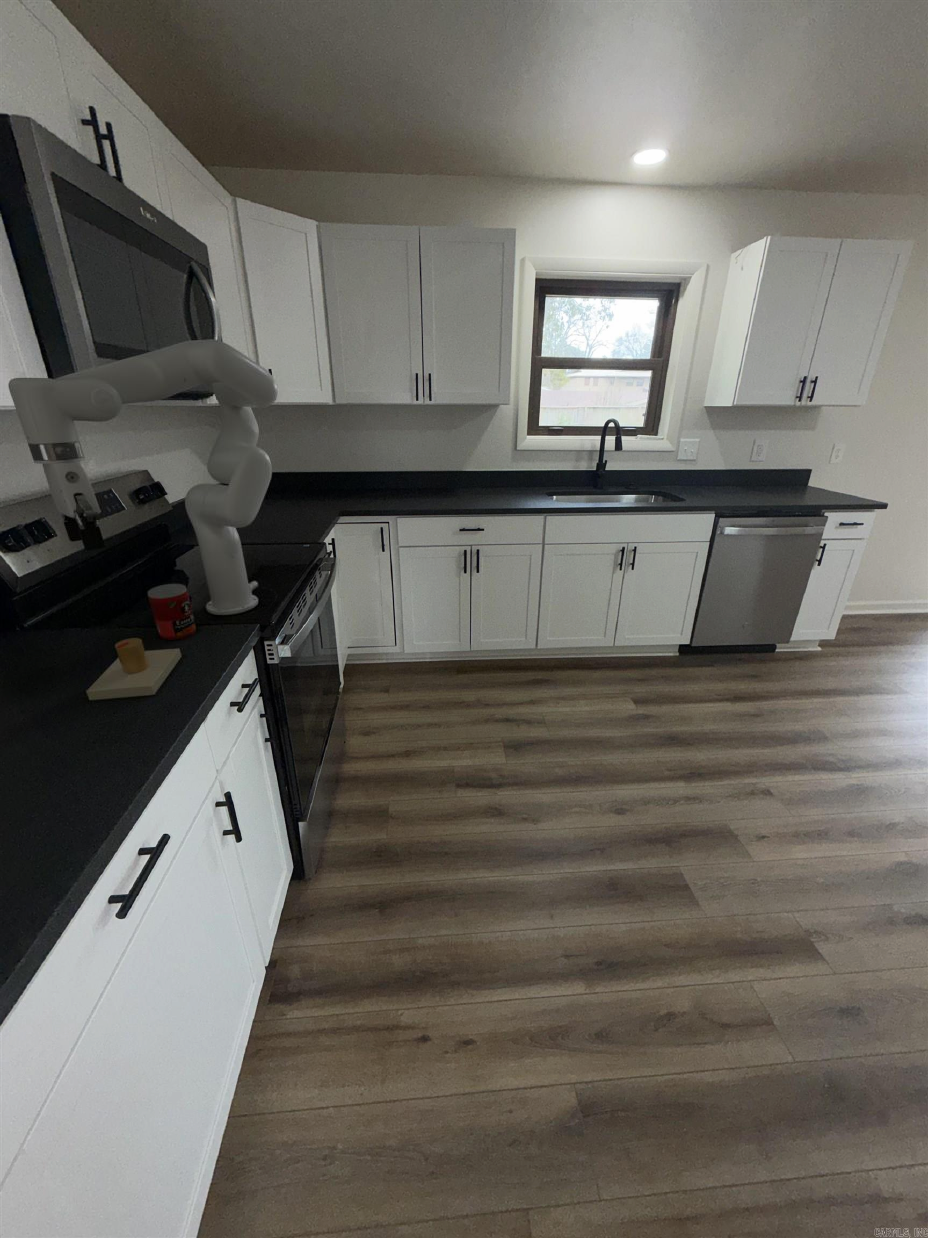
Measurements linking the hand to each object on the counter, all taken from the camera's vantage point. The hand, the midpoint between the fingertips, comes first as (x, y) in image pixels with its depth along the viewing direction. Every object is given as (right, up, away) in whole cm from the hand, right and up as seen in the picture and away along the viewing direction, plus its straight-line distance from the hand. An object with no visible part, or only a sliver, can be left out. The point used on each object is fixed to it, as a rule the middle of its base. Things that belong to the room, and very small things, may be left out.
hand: (87, 544), depth 97 cm
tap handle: (+9, -24, 0) cm, 26 cm away
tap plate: (+9, -26, +1) cm, 28 cm away
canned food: (+7, -18, +19) cm, 27 cm away
